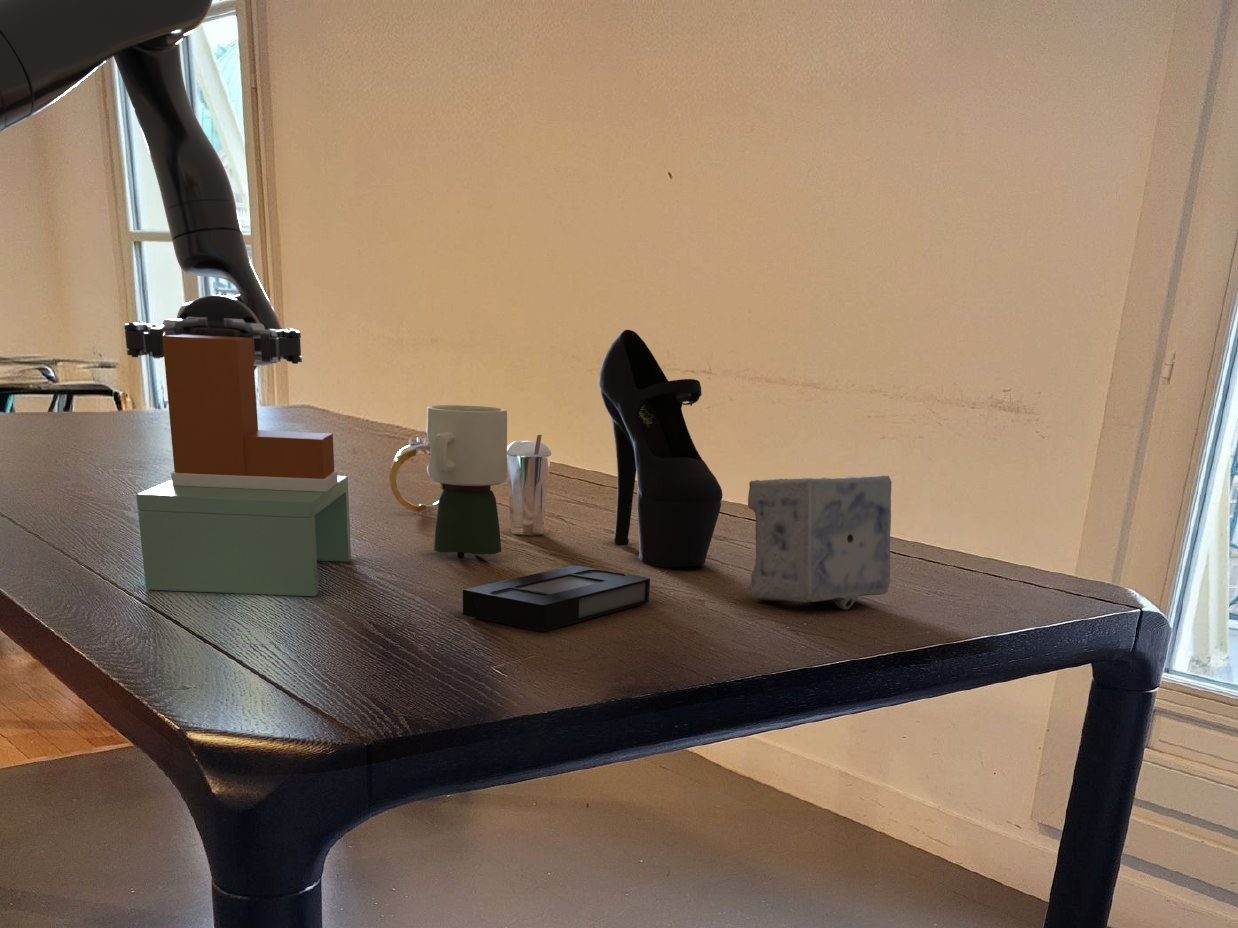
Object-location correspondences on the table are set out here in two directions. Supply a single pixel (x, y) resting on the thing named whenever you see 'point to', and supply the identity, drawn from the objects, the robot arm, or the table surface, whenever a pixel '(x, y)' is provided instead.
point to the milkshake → (528, 485)
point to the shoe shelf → (241, 538)
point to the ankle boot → (233, 423)
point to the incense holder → (821, 538)
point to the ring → (398, 460)
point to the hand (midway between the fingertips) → (211, 345)
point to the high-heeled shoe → (657, 458)
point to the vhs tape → (555, 597)
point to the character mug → (467, 475)
